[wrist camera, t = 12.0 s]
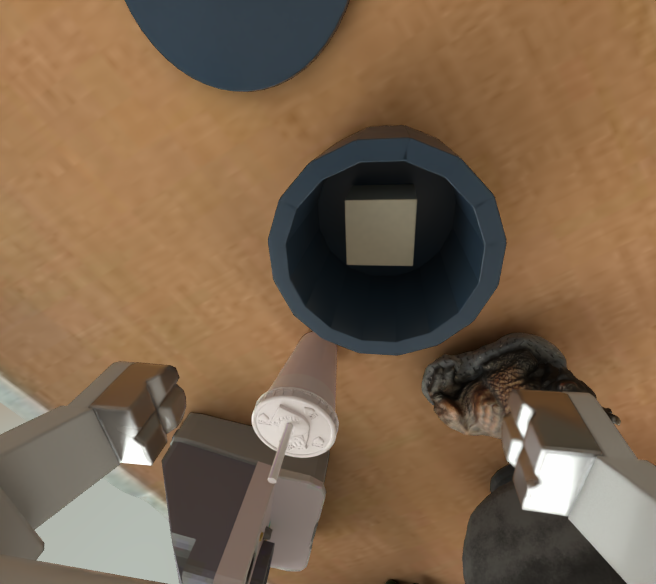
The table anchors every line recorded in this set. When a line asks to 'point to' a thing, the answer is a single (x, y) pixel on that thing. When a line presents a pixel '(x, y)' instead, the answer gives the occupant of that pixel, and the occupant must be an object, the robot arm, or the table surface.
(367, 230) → the block
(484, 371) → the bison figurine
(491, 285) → the canister
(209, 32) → the lid
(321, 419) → the smoothie
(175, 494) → the instant camera
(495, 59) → the table surface
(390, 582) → the toy figurine
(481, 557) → the pitcher
